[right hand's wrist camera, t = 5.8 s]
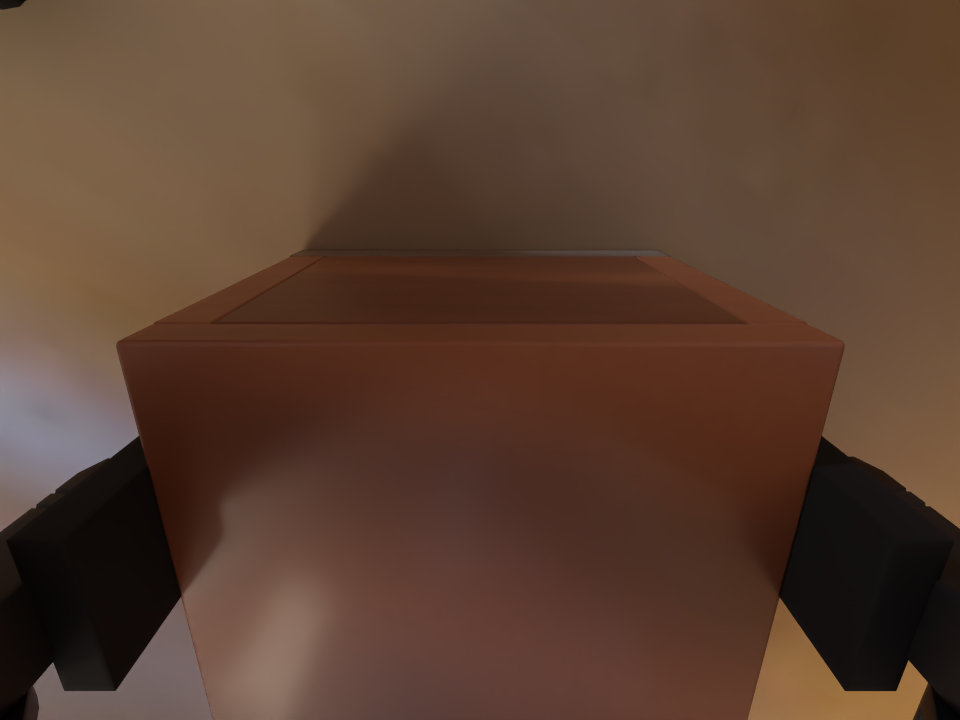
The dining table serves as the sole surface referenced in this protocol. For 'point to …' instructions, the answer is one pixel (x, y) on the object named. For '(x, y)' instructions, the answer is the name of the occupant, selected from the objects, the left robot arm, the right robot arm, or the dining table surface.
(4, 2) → the tape measure
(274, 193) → the dining table surface
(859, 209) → the dining table surface
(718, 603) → the cabinet
